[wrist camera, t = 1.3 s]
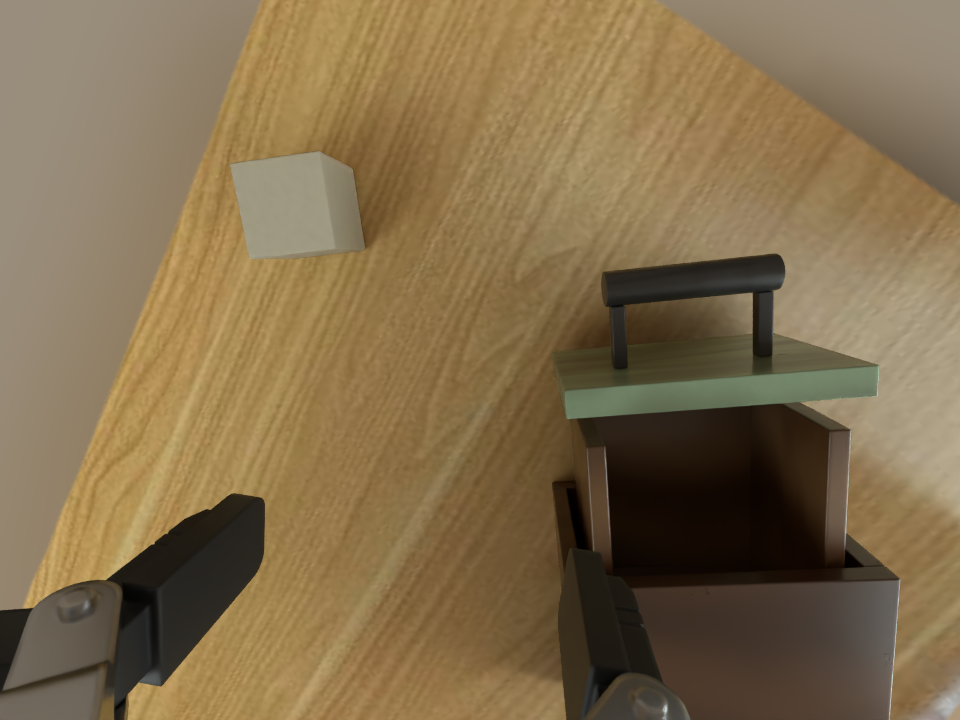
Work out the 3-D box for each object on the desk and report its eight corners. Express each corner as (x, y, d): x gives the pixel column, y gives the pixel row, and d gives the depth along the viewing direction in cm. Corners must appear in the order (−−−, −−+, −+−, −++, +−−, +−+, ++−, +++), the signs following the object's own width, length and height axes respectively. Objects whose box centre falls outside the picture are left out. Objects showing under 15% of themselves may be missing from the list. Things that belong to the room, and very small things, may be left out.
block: (276, 178, 26) (229, 163, 22) (353, 167, 26) (319, 150, 22) (291, 259, 27) (248, 259, 23) (365, 250, 27) (335, 249, 23)
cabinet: (551, 482, 29) (565, 590, 19) (772, 469, 27) (901, 579, 18) (569, 684, 32) (588, 863, 22) (768, 681, 30) (878, 870, 21)
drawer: (545, 273, 25) (555, 280, 18) (772, 249, 24) (887, 245, 16) (569, 568, 29) (586, 680, 21) (767, 561, 28) (860, 676, 20)
